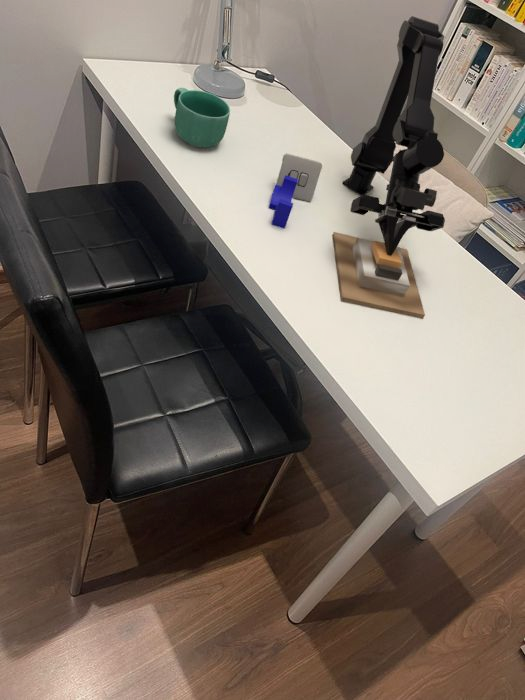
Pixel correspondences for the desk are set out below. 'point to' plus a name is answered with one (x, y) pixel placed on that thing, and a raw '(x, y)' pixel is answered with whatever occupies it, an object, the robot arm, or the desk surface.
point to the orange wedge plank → (385, 255)
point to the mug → (200, 117)
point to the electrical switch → (300, 175)
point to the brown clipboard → (375, 278)
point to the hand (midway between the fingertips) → (389, 254)
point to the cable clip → (282, 201)
